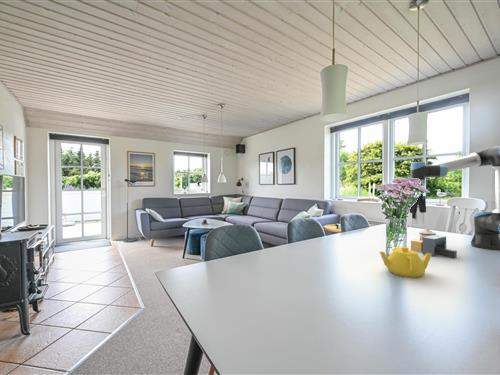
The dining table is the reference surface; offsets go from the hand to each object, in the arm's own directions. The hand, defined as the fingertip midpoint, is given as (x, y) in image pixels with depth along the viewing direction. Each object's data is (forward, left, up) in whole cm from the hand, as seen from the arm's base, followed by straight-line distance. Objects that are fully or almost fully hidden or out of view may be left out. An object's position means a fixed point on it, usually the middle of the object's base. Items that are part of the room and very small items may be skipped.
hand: (418, 223), depth 154 cm
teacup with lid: (-16, -1, -17) cm, 24 cm away
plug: (0, +8, -17) cm, 19 cm away
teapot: (+47, +18, -17) cm, 53 cm away
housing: (0, +9, -17) cm, 19 cm away
